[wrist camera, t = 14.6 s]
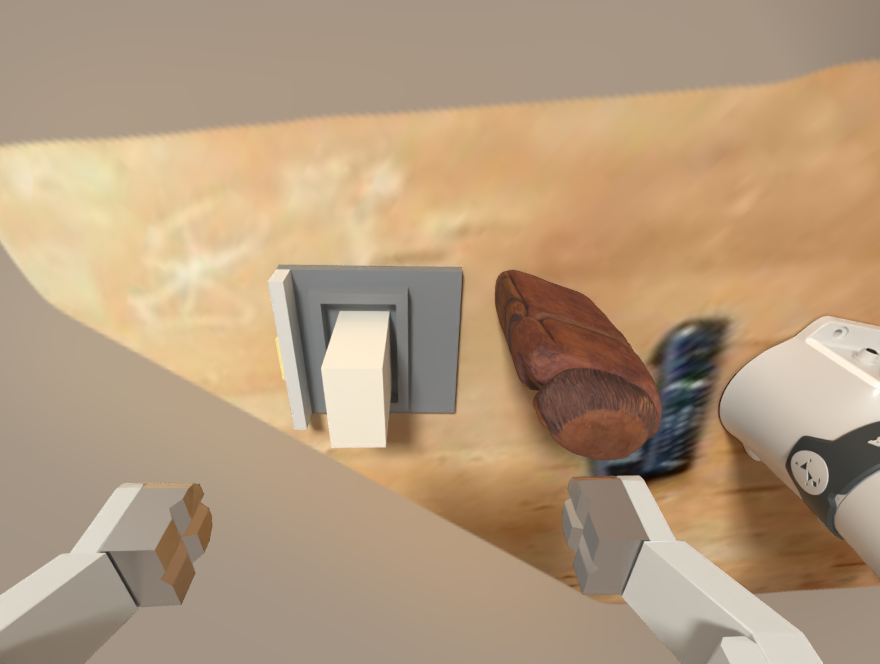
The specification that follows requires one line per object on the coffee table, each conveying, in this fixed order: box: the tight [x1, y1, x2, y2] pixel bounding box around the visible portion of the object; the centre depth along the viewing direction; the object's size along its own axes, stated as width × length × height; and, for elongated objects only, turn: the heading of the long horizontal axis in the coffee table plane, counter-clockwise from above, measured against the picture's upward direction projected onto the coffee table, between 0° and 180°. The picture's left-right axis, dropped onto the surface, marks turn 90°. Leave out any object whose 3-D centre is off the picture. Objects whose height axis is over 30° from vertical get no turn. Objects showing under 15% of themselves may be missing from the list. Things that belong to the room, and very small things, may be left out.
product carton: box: [321, 311, 392, 448], centre depth 40 cm, size 5×8×9 cm, turn 179°
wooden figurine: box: [495, 270, 661, 460], centre depth 35 cm, size 12×6×18 cm, turn 67°
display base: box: [268, 265, 462, 430], centre depth 43 cm, size 16×16×4 cm
